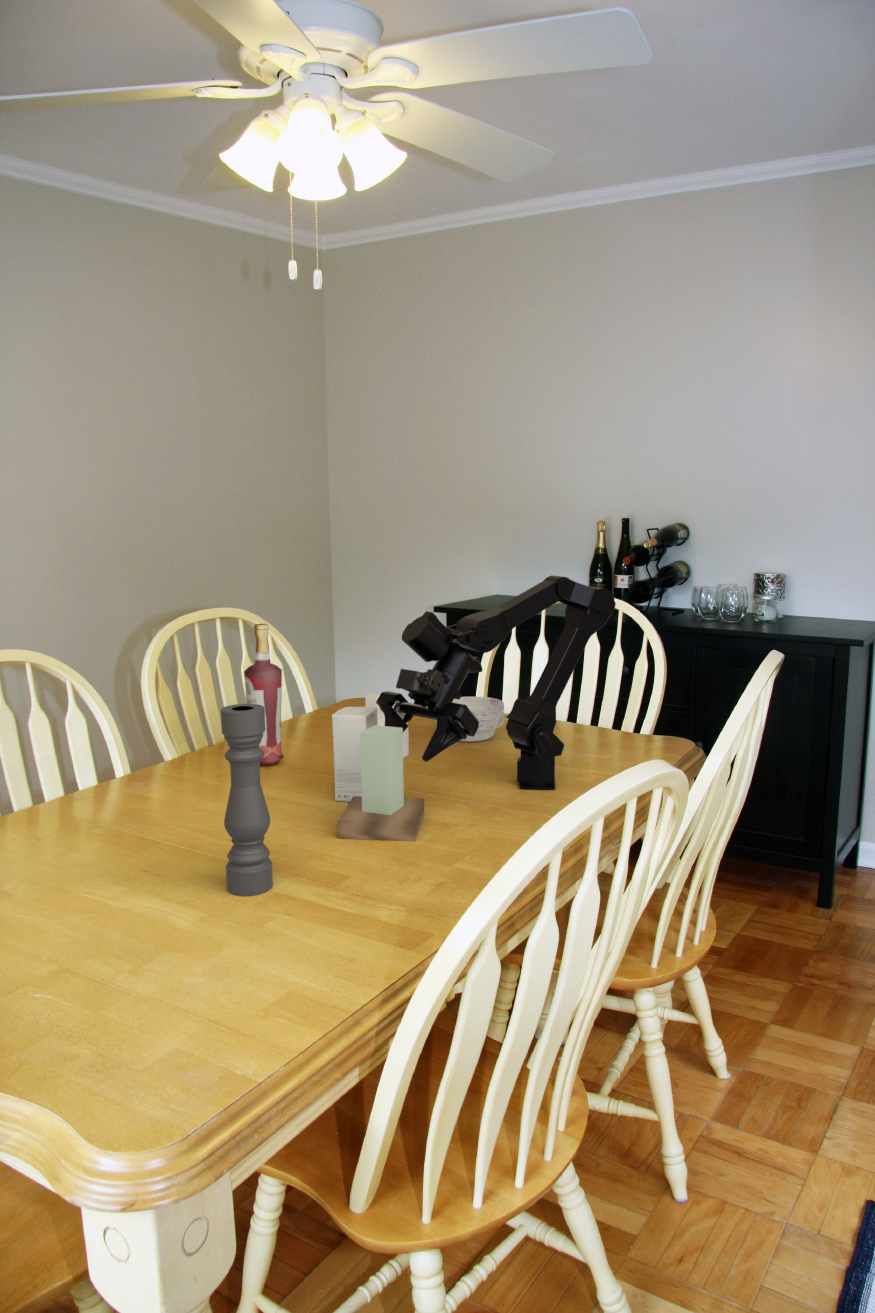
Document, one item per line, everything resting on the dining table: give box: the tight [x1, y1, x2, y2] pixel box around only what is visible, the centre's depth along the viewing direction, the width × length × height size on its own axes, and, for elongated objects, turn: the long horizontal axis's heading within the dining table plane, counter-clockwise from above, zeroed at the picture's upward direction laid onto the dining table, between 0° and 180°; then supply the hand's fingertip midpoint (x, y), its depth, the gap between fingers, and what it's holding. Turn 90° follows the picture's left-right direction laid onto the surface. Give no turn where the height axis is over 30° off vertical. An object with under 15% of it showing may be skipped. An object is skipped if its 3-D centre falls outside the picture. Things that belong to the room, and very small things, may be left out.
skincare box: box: [331, 706, 378, 803], centre depth 168 cm, size 8×7×16 cm
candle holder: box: [220, 703, 274, 897], centre depth 128 cm, size 6×6×25 cm
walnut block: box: [337, 796, 425, 842], centre depth 153 cm, size 12×12×3 cm
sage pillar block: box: [360, 725, 405, 815], centre depth 152 cm, size 5×5×13 cm
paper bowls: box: [434, 696, 505, 743], centre depth 209 cm, size 15×15×8 cm
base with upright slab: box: [364, 693, 410, 758], centre depth 196 cm, size 9×9×12 cm
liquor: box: [243, 623, 284, 767], centre depth 188 cm, size 7×7×28 cm
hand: (403, 755), depth 155 cm, fingers open, 9 cm apart
